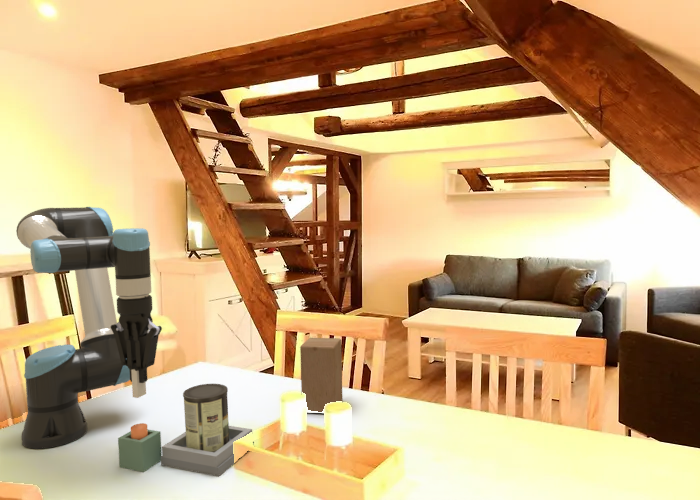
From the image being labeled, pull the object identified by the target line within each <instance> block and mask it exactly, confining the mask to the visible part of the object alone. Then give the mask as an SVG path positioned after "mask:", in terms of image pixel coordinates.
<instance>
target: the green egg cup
mask: <svg viewBox="0 0 700 500" xmlns="http://www.w3.org/2000/svg"><path fill="white" fill-rule="evenodd" d="M147 430H148V436H146V437H145V438H143V439H141V440H137V439H131V430H130V431H129V432H127V433H125V434H123V435H121V436H120V437H118V438H117V442H118V443H117V446H118V459H119V460H118V463H119V468H121V469H126V470H132V471H137V472H140V473H144V472H146V471H148V470H149V469H150V468H153V466H156V464H158V463H161V456H162V436H161V435H162V434H161V431H159V430H154V429H148V428H147Z"/></svg>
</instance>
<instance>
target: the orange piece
mask: <svg viewBox="0 0 700 500" xmlns="http://www.w3.org/2000/svg"><path fill="white" fill-rule="evenodd" d="M147 429H148V424H147V423H136V424H134V425H132V426H130V431H131V439H137V440H141V439H143V438H145V437H146V436H148V430H149V429H148V430H147Z"/></svg>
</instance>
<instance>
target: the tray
mask: <svg viewBox="0 0 700 500" xmlns="http://www.w3.org/2000/svg"><path fill="white" fill-rule="evenodd" d="M250 432H252V433H253V428H246V427H240V426H234V425H233V426H232V425H229V442H228V443H227V444H225V445H224V446H223V447H221V448H220V449H219V450H217V451H216V452H209V451H203V450H198V449H192V448H187V446H186V431H184V432H183V433H181V434H180V435H178V436H177V437H175V438H173V439H172V440H170V441H169V442H167V443H165V444H164V445H161V453H162V456H161V461H160V465H161V466H165V467H169V466H170V467H171V468H175V469H180V470H185V471H191V472H194V473H195V472H196V473H199V474H200V473H201V474H205V475H211V476H214V477H215V476H216V477H220V476H221V475H222V474H224V473H225V472H226V471H227V470H229V468H231V467H232V466H233V465H234V464H235V463H234V454H233V442H234V441H236V440H238V439H240V438H242V437H244V436H246V435H247V434H249V433H250Z"/></svg>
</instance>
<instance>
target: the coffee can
mask: <svg viewBox="0 0 700 500" xmlns="http://www.w3.org/2000/svg"><path fill="white" fill-rule="evenodd" d="M228 390H229V389H228V387H227V386H226V385H224V384H221V383H205V384H204V383H203V384H199V385H195V386H192V387H189V388H188V389H186V390H184V391H183V393H182V396H183V405H184V406H183V407H184V409H183V410H184V424H185V425H184V426H185V432H186V446H187V448H192V449H198V450H203V451H209V452H216V451H217V450H219V449H220V448H221V447H223V446H224V445H225V444H227V443H228V442H229V426H230V424H229V406H228V405H229V404H228V403H229V402H228V400H229V399H228Z"/></svg>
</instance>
